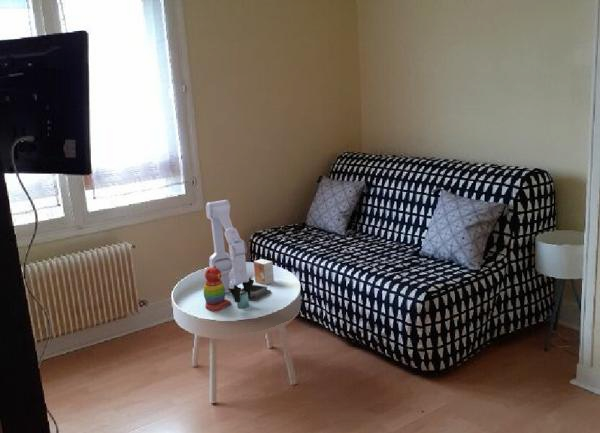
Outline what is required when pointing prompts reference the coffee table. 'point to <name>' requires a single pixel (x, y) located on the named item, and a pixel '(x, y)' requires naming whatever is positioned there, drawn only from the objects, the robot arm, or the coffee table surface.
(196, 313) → the coffee table surface
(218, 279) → the stacking bear
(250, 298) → the socket
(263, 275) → the small box
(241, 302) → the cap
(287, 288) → the coffee table surface
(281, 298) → the coffee table surface
